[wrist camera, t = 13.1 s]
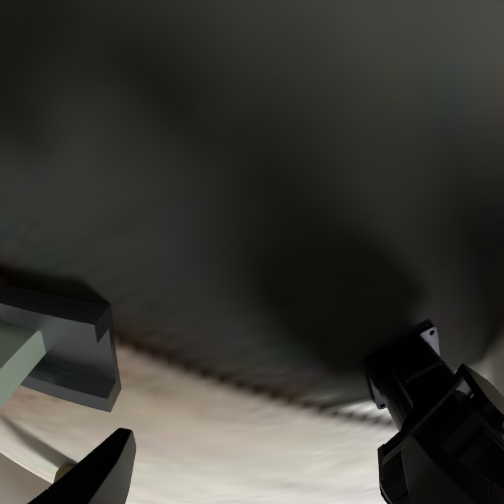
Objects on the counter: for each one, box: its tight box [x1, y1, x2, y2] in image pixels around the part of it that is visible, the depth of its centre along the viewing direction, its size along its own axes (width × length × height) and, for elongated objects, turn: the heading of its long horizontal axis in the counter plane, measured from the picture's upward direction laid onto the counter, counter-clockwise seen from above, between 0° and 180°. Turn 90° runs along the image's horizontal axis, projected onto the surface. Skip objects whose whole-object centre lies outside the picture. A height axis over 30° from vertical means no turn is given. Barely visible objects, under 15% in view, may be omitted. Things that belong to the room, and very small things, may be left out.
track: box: [0, 283, 121, 412], centre depth 20 cm, size 18×8×3 cm, turn 84°
